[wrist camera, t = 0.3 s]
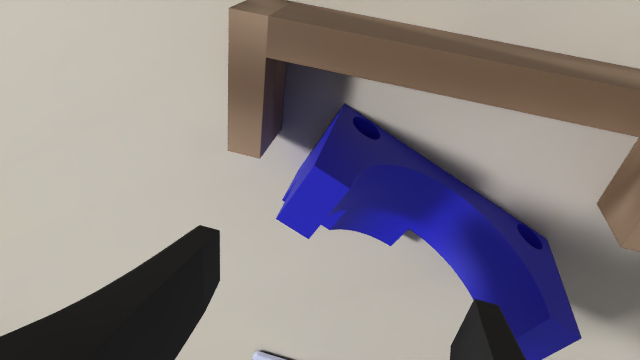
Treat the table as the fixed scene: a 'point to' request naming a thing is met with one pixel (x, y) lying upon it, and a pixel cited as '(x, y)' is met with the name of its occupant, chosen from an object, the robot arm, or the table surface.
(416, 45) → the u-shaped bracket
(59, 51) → the table surface
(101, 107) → the table surface
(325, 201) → the blue notched arch
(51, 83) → the table surface
